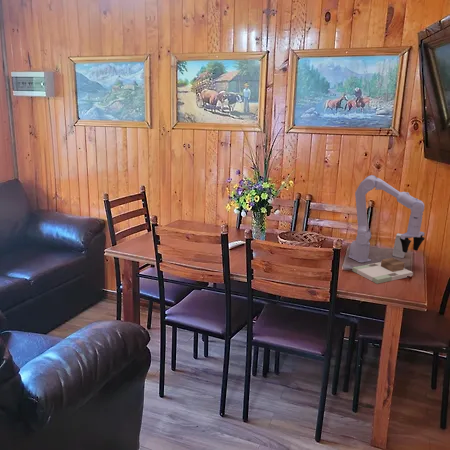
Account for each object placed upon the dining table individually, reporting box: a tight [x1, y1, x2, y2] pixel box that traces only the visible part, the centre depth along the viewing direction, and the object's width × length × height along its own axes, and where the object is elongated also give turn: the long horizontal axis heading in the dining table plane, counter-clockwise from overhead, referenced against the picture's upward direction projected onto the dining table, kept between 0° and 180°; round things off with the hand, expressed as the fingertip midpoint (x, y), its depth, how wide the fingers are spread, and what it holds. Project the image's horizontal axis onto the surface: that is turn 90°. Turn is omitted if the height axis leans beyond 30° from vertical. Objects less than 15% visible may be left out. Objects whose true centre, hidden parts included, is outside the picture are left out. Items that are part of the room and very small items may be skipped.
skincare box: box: [392, 233, 406, 259], centre depth 237 cm, size 6×4×12 cm
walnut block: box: [380, 257, 405, 272], centre depth 216 cm, size 8×8×4 cm
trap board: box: [352, 261, 414, 285], centre depth 214 cm, size 16×24×2 cm
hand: (409, 251), depth 219 cm, fingers open, 7 cm apart
